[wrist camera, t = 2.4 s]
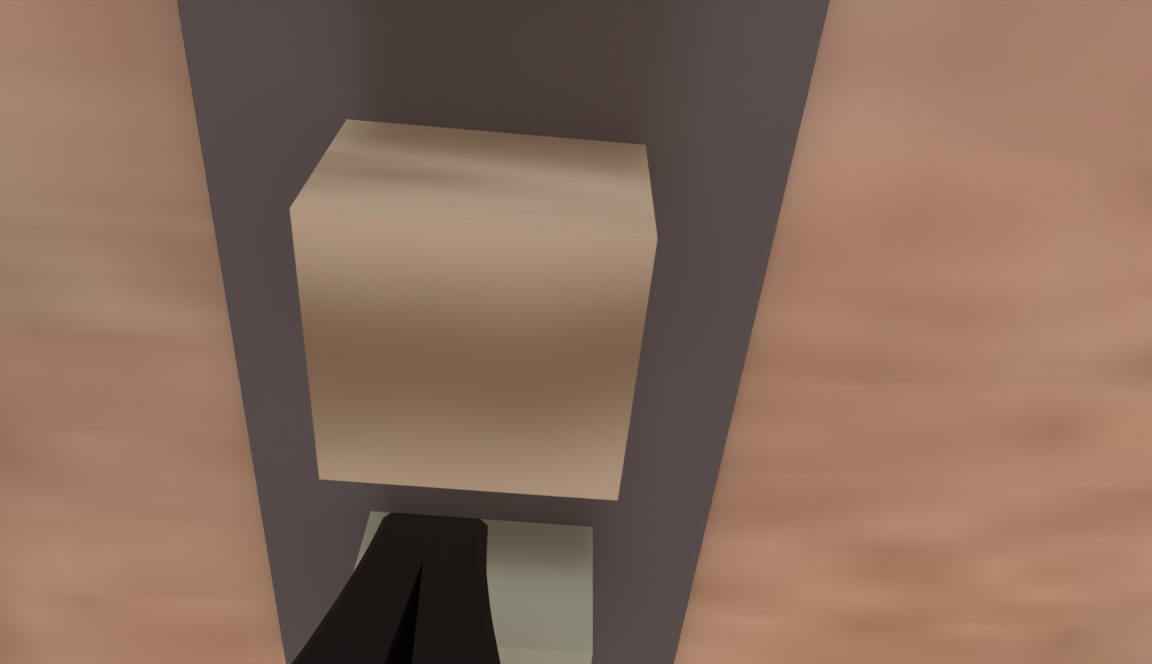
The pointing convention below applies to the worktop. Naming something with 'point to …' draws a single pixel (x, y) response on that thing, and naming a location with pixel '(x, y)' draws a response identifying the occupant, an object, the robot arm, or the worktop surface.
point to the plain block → (474, 307)
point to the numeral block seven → (535, 589)
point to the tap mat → (532, 107)
